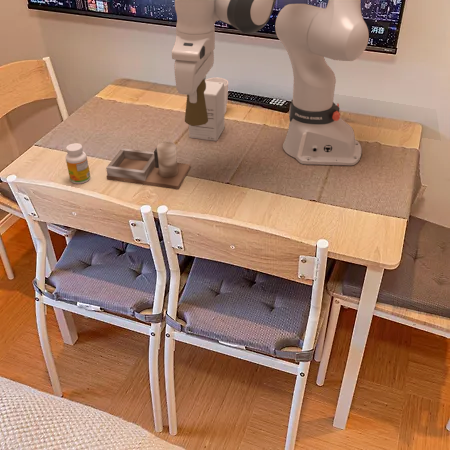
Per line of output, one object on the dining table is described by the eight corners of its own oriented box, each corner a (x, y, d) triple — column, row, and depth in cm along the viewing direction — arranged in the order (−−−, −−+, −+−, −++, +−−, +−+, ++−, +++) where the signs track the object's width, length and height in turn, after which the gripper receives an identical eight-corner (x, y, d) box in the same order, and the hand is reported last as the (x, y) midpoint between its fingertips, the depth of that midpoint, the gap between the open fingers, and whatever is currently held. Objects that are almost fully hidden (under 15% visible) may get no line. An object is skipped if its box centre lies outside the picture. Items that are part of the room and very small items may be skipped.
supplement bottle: (66, 177, 142) (59, 145, 136) (85, 171, 144) (79, 139, 138) (75, 186, 138) (68, 154, 132) (94, 179, 141) (88, 147, 135)
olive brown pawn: (211, 117, 136) (211, 76, 130) (202, 127, 132) (201, 85, 125) (190, 113, 138) (189, 72, 132) (180, 123, 134) (178, 81, 127)
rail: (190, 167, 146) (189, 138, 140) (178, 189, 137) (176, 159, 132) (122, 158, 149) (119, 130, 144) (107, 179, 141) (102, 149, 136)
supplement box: (197, 124, 166) (196, 78, 157) (225, 128, 164) (225, 82, 155) (188, 137, 159) (186, 91, 150) (216, 141, 157) (216, 94, 148)
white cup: (228, 116, 170) (228, 87, 164) (203, 116, 170) (202, 87, 164) (228, 106, 176) (228, 77, 170) (204, 106, 176) (203, 77, 170)
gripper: (195, 26, 131) (196, 80, 140) (168, 54, 116) (172, 112, 124) (219, 28, 130) (219, 82, 139) (196, 57, 114) (198, 116, 123)
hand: (197, 97), depth 131 cm, fingers closed on olive brown pawn, 4 cm apart
